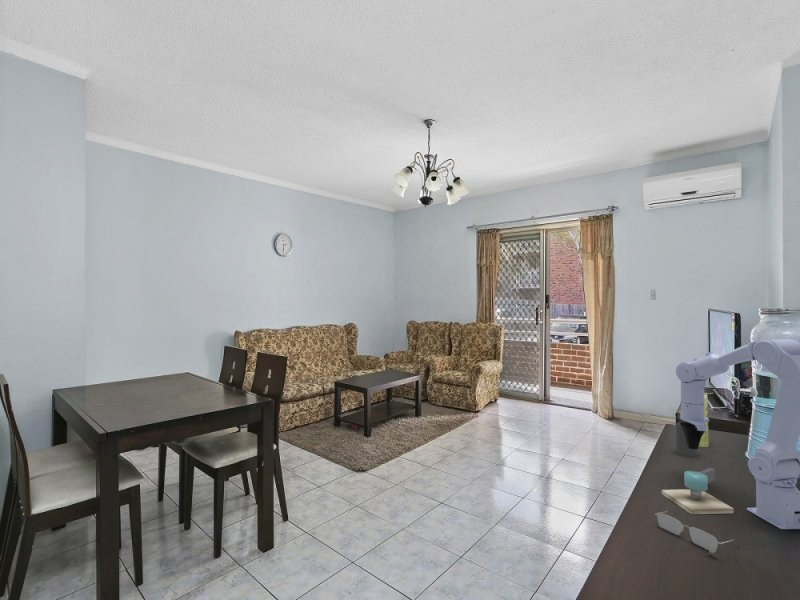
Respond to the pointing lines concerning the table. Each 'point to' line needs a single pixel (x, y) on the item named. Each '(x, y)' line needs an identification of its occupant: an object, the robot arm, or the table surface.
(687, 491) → the post block
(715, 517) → the table surface
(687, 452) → the bottle
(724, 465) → the table surface
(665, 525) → the eyeglasses
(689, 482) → the teal grey handled piece
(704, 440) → the tube
